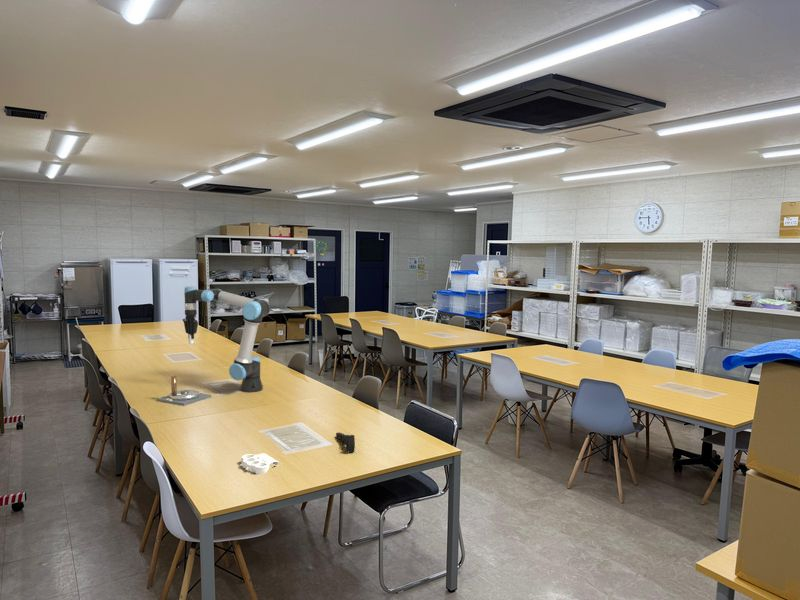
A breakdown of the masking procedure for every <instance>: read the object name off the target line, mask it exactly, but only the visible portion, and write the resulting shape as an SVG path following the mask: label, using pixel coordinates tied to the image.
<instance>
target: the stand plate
mask: <svg viewBox="0 0 800 600" xmlns="http://www.w3.org/2000/svg"><path fill="white" fill-rule="evenodd" d="M209 398H212V394H209V393H208V394H207V393H202V392H199V397H197V398H193V399H188V400H173V399H170V398H169V394H168V395H165V396H162V397H159V398H156V401H157V402H160V403H165V404H172V405H178V406H182V407H185V406H188V405H190V404H195V403H196V402H200V401H203V400H206V399H209Z"/></svg>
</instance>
